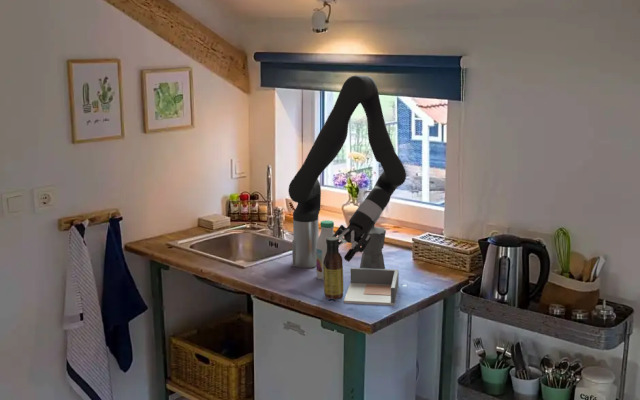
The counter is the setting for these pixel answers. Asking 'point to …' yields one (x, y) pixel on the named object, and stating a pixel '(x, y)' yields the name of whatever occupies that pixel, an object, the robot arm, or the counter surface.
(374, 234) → the coffeepot
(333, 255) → the sauce bottle
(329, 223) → the milk bottle
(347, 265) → the counter surface
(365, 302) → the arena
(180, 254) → the counter surface
